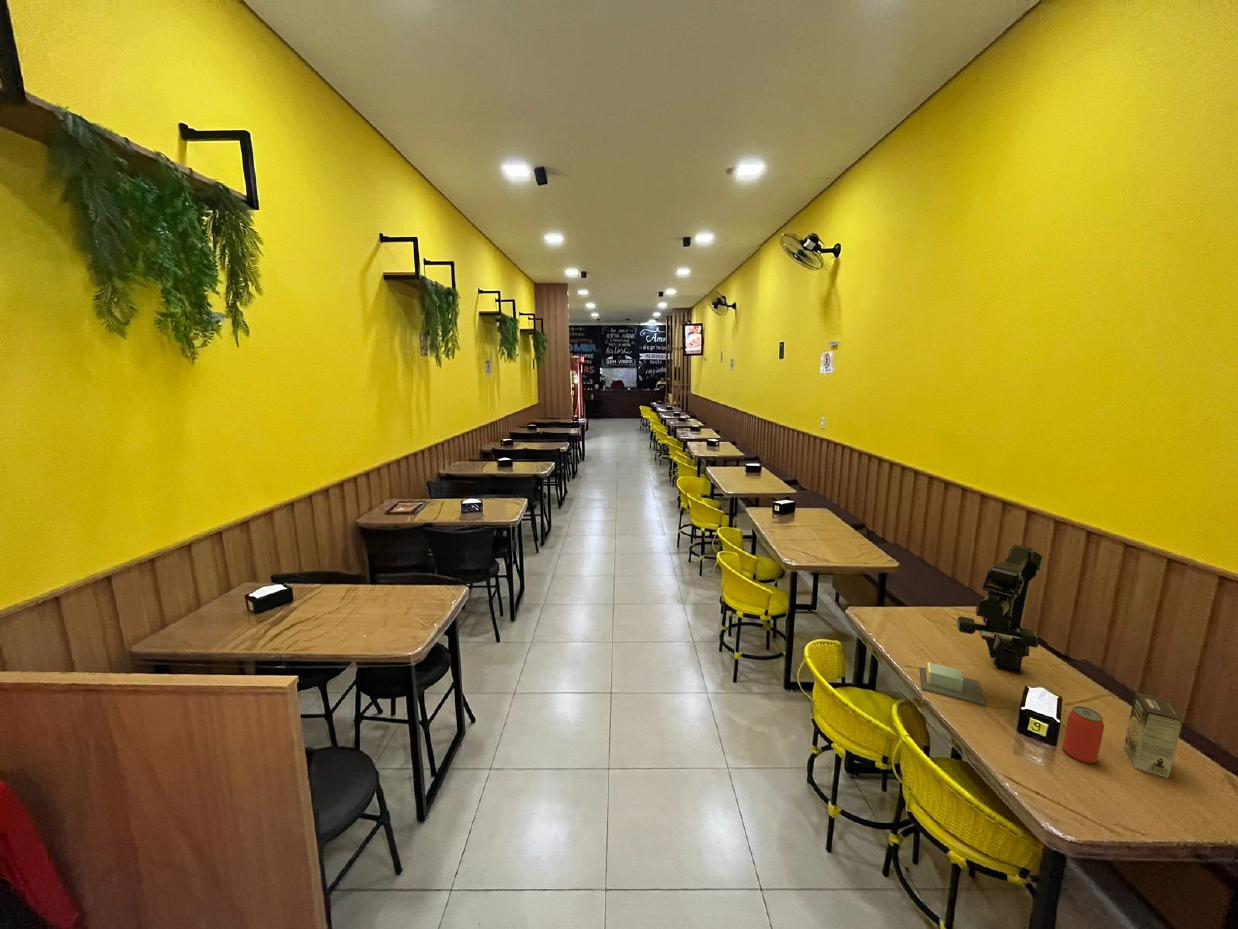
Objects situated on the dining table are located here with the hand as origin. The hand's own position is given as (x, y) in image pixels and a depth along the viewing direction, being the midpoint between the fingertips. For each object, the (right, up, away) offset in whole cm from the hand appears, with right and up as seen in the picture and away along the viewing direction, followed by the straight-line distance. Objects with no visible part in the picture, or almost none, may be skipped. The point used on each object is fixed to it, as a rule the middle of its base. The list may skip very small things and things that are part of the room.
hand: (991, 657), depth 148 cm
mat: (-8, -11, +6) cm, 15 cm away
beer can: (+6, -17, -21) cm, 28 cm away
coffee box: (+21, -17, -23) cm, 36 cm away
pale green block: (-6, -9, +5) cm, 12 cm away
